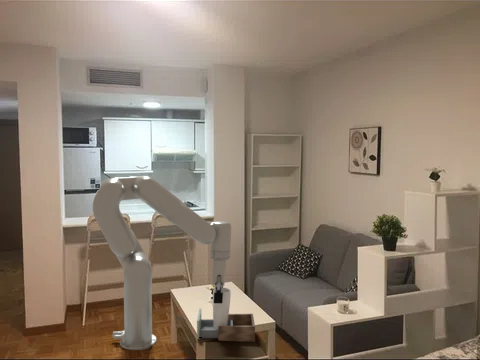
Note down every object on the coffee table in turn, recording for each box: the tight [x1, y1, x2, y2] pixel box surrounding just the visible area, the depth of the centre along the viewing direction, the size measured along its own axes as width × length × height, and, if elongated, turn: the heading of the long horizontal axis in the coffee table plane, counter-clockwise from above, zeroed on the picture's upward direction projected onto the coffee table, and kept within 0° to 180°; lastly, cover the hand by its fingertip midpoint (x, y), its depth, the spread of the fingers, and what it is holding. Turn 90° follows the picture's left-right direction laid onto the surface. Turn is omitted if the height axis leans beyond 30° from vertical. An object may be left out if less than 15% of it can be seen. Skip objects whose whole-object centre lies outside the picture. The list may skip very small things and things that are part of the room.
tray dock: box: [217, 313, 256, 343], centre depth 154 cm, size 14×12×6 cm
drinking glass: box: [212, 287, 232, 329], centre depth 153 cm, size 7×7×15 cm
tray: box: [196, 307, 233, 339], centre depth 153 cm, size 13×12×7 cm
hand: (218, 298), depth 153 cm, fingers open, 9 cm apart
